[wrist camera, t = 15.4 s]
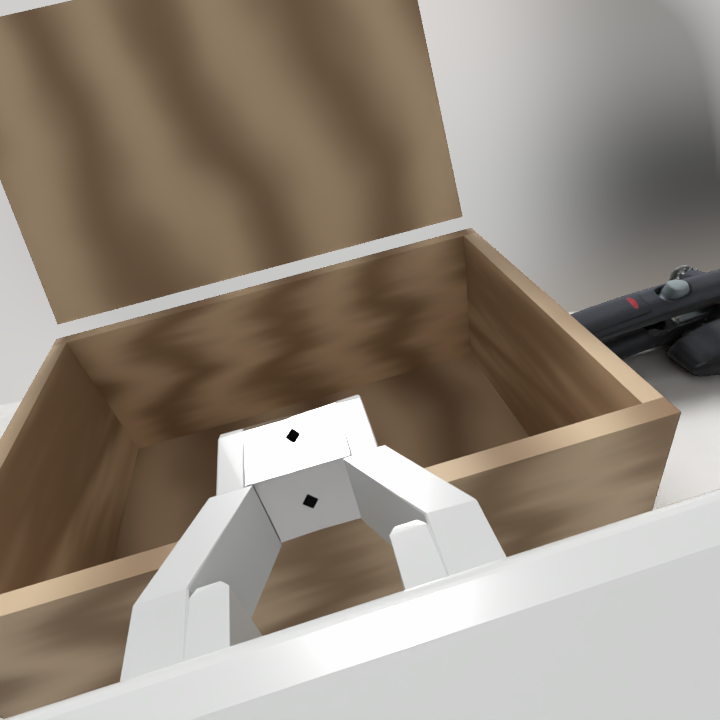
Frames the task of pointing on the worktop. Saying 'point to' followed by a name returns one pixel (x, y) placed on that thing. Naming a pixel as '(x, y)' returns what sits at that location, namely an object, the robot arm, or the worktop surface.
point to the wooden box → (291, 396)
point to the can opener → (664, 320)
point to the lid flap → (213, 139)
